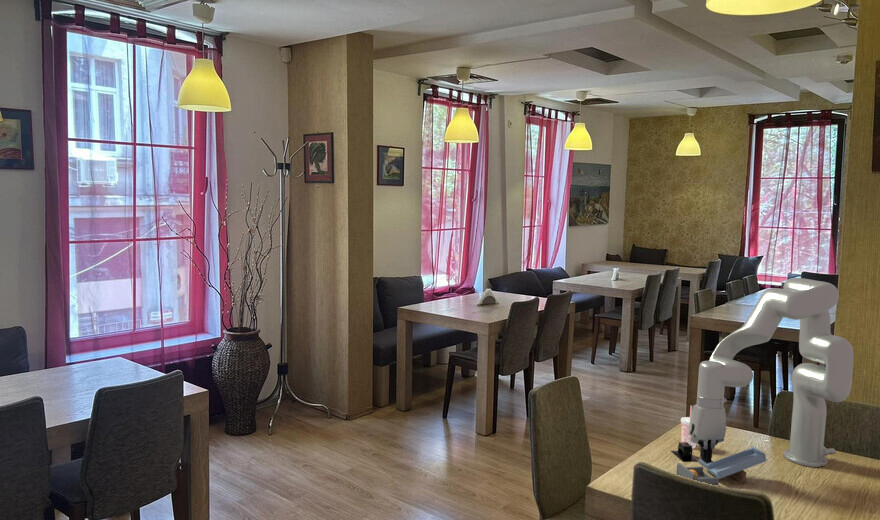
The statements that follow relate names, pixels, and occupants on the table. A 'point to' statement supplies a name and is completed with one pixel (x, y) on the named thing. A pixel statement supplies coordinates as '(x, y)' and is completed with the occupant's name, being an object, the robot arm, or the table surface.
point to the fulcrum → (738, 478)
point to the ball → (694, 473)
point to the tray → (701, 475)
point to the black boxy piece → (685, 452)
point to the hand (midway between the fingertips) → (705, 460)
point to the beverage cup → (687, 430)
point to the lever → (734, 462)
